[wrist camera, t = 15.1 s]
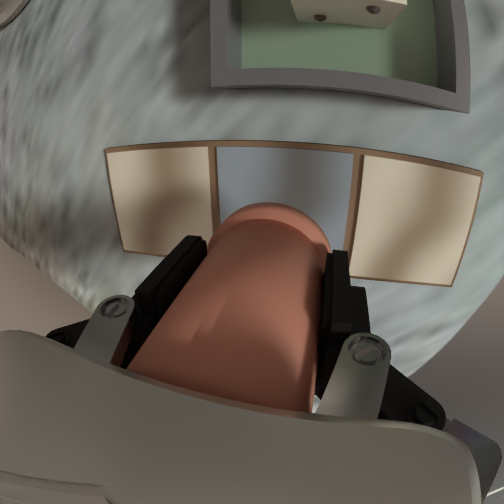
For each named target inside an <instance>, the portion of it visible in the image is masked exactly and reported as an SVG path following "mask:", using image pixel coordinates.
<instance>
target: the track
mask: <svg viewBox="0 0 504 504" xmlns="http://www.w3.org/2000/svg"><path fill="white" fill-rule="evenodd" d="M105 154H106V162H107V169H108V175H109V182H110V188H111V194H112V199H113V205H114V210H115V215H116V220H117V225H118V230H119V234H120V239H121V243H122V247H123V252H130V253H138V254H146V255H154V256H162V257H166V256H167V255H168V254H169V253H170V252H171V251H172V250H173V249H174V248H175V247H176V246H177V245H178V244H179V243H180V242H181V240H182V239H183V238H184V237H185V236H187V235H194V236H201V237H202V239H203V240H205V241H206V243H207V246H208V243H209V241H210V239H211V237H212V236H213V234H214V233H215V231H216V230H217V229H218V228H219V226H220V225H221V224H222V223H223V222H224V220H225V219H226V218H227V217H228V216H229V215H231V214H232V213H233V212H235V211H236V210H238V209H240V208H242V207H244V206H247V205H250V204H254V203H261V202H274V203H281V204H285V205H288V206H291V207H294V208H296V209H298V210H300V211H302V212H303V213H305V214H307V215H308V216H309V217H311V218H312V219H313V220H314V221H315V222H316V223H317V224H318V225H319V226H320V228H321V229H322V230H323V232H324V233H325V235H326V237H327V239H328V241H329V244H330V247H331V252H332V251H333V249H334V250H343V251H347V252H348V262H349V273H350V278H357V279H367V280H377V281H388V282H398V283H409V284H420V285H432V286H443V287H452V285H453V283H454V280H455V277H456V274H457V272H458V269H459V266H460V263H461V260H462V257H463V254H464V251H465V248H466V245H467V241H468V238H469V234H470V231H471V227H472V224H473V220H474V216H475V212H476V208H477V204H478V199H479V195H480V190H481V185H482V179H483V174H484V172H482V171H480V170H476V169H472V168H468V167H464V166H460V165H456V164H452V163H447V162H443V161H438V160H433V159H428V158H423V157H418V156H412V155H406V154H401V153H394V152H388V151H381V150H374V149H367V148H359V147H350V146H341V145H331V144H319V143H306V142H289V141H265V140H203V141H179V142H162V143H149V144H138V145H128V146H119V147H110V148H106V149H105Z"/></svg>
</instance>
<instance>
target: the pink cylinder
mask: <svg viewBox="0 0 504 504" xmlns="http://www.w3.org/2000/svg"><path fill="white" fill-rule="evenodd" d="M207 252H208V255H207V256H206V257H205V259H204V260H203V261H202V263H201V264H200V266H199V267H198V268H197V270H196V271H195V272H194V274H193V275H192V276H191V278H190V279H189V281H188V282H187V283H186V285H185V286H184V287H183V289H182V290H181V292H180V293H179V294H178V296H177V297H176V299H175V300H174V301H173V303H172V304H171V306H170V307H169V308H168V310H167V311H166V313H165V314H164V315H163V317H162V318H161V320H160V321H159V322H158V324H157V325H156V327H155V328H154V330H153V331H152V332H151V334H150V335H149V337H148V338H147V340H146V341H145V343H144V344H143V345H142V347H141V348H140V350H139V351H138V353H137V354H136V356H135V357H134V359H133V360H132V361H131V363H130V364H129V366H128V367H127V369H126V370H128V371H131V372H134V373H137V374H140V375H143V376H146V377H149V378H152V379H155V380H158V381H162V382H165V383H168V384H172V385H175V386H178V387H182V388H185V389H189V390H193V391H197V392H200V393H204V394H208V395H213V396H217V397H221V398H226V399H230V400H235V401H239V402H244V403H249V404H254V405H260V406H265V407H271V408H277V409H284V410H291V411H298V412H306V413H312V406H313V399H314V391H315V383H316V374H317V365H318V356H319V355H318V345H319V335H320V324H321V311H322V297H323V281H324V270H325V263H326V255H327V253H332V252H331V247H330V244H329V241H328V239H327V237H326V235H325V233H324V232H323V230H322V229H321V228H320V226H319V225H318V224H317V223H316V222H315V221H314V220H313V219H312V218H311V217H309V216H308V215H307V214H305V213H303V212H302V211H300V210H298V209H296V208H294V207H291V206H288V205H285V204H281V203H274V202H261V203H254V204H250V205H247V206H244V207H242V208H240V209H238V210H236V211H235V212H233V213H232V214H231V215H229V216H228V217H227V218H226V219H225V220H224V222H223V223H222V224H221V225H220V226H219V228H218V229H217V230H216V231H215V233H214V234H213V236H212V237H211V239H210V241H209V243H208V246H207Z"/></svg>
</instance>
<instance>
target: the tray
mask: <svg viewBox="0 0 504 504" xmlns="http://www.w3.org/2000/svg"><path fill="white" fill-rule="evenodd" d="M210 69H211V87H217V88H227V89H240V88H298V89H317V90H330V91H341V92H350V93H359V94H366V95H374V96H380V97H386V98H392V99H398V100H403V101H408V102H413V103H418V104H422V105H427V106H431V107H435V108H439V109H443V110H448V111H455V112H462V113H468V114H469V109H470V51H469V37H468V27H467V19H466V11H465V5H464V0H407V6H406V7H405V8H404V9H403V10H402V11H401V12H400V13H399V14H398V16H397V17H396V18H395V19H394V20H393V21H392V22H391V23H390V24H389V26H388V27H387V28H386V29H385V30H384V29H378V28H371V27H364V26H356V25H346V24H334V23H316V22H298V21H297V18H296V15H295V12H294V9H293V6H292V4H291V1H290V0H210Z"/></svg>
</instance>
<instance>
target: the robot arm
mask: <svg viewBox="0 0 504 504" xmlns="http://www.w3.org/2000/svg"><path fill="white" fill-rule="evenodd" d="M28 1H29V0H0V26H3V25H5V24H7V23H9V22H10V21H11V20H12V19H14V18H15V17H16V16H17V15H18V13H19V12H20V11H21V10H22V9H23V8H24V6H25V5H26V4H27V3H28ZM207 255H208V252H207V243H206V241H205V240H203V239H202V237H201V236H194V235H187V236H185V237H184V238H183V239H182V240H181V242H180V243H179V244H178V245H177V246H176V247H175V248H174V249H173V250H172V251H171V252H170V253H169V254H168V255H167V256H166V257H165V258H164V259H163V260H162V262H161V263H160V264H159V265H158V266H157V267H156V268H155V269H154V270H153V271H152V272H151V273H150V274H149V276H148V277H147V278H146V279H145V280H144V281H143V282H142V283H141V284H140V285H139V286H138V288H137V289H136V290H135V294H134V296H133V297H132V298H131V297H129V296H126V295H115V296H111V297H109V298H107V299H105V300H103V301H102V302H101V303H100V304H99V305H98V306H97V308H96V310H95V311H94V313H93V315H92V317H91V318H90V319H88V320H84V321H81V322H78V323H74V324H71V325H68V326H64V327H61V328H58V329H55V330H53V331H51V332H50V333H48V334H47V335H46V336H45V337H44V336H41V335H38V334H35V333H32V332H27V331H22V330H6V331H1V332H0V504H483V502H484V500H485V498H486V496H487V493H488V491H489V489H490V487H491V485H492V483H493V480H494V478H495V476H496V473H497V471H498V469H499V466H500V463H501V459H502V453H501V449H500V447H499V445H498V444H497V443H496V442H495V441H493V440H491V439H490V438H488V437H486V436H484V435H483V434H481V433H479V432H477V431H476V430H474V429H472V428H470V427H469V426H467V425H465V424H463V423H462V422H460V421H458V420H456V419H455V418H453V419H452V420H449V419H447V418H446V416H445V411H444V409H443V407H442V406H441V405H440V404H439V403H438V402H437V401H436V400H435V399H434V398H432V397H431V396H430V395H428V394H427V393H426V392H424V391H423V390H422V389H421V388H420V387H418V386H417V385H416V384H414V383H413V382H412V381H411V380H409V379H408V378H407V377H406V376H404V375H403V374H402V373H401V372H399V371H398V370H397V369H396V368H394V367H393V366H392V365H390V360H391V350H390V347H389V345H388V344H387V343H386V342H385V340H383V339H382V338H380V337H379V336H377V335H374V334H371V332H370V322H369V313H368V305H367V297H366V290H365V288H364V287H358V286H351V285H350V273H349V262H348V252H347V251H343V250H334V249H333V251H332V253H327V255H326V263H325V270H324V281H323V297H322V311H321V324H320V335H319V345H318V355H319V356H318V365H317V374H316V383H315V394H314V395H317V397H318V398H319V399H320V400H321V401H320V404H319V406H318V408H317V411H316V413H315V414H314V413H306V412H298V411H291V410H284V409H277V408H271V407H265V406H260V405H254V404H249V403H244V402H239V401H235V400H230V399H226V398H221V397H217V396H213V395H208V394H204V393H200V392H197V391H193V390H189V389H185V388H182V387H178V386H175V385H172V384H168V383H165V382H162V381H158V380H155V379H152V378H149V377H146V376H143V375H140V374H137V373H134V372H131V371H128V370H126V369H127V367H128V366H129V364H130V363H131V361H132V360H133V359H134V357H135V356H136V354H137V353H138V351H139V350H140V348H141V347H142V345H143V344H144V343H145V341H146V340H147V338H148V337H149V335H150V334H151V332H152V331H153V330H154V328H155V327H156V325H157V324H158V322H159V321H160V320H161V318H162V317H163V315H164V314H165V313H166V311H167V310H168V308H169V307H170V306H171V304H172V303H173V301H174V300H175V299H176V297H177V296H178V294H179V293H180V292H181V290H182V289H183V287H184V286H185V285H186V283H187V282H188V281H189V279H190V278H191V276H192V275H193V274H194V272H195V271H196V270H197V268H198V267H199V266H200V264H201V263H202V261H203V260H204V259H205V257H206V256H207Z"/></svg>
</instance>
